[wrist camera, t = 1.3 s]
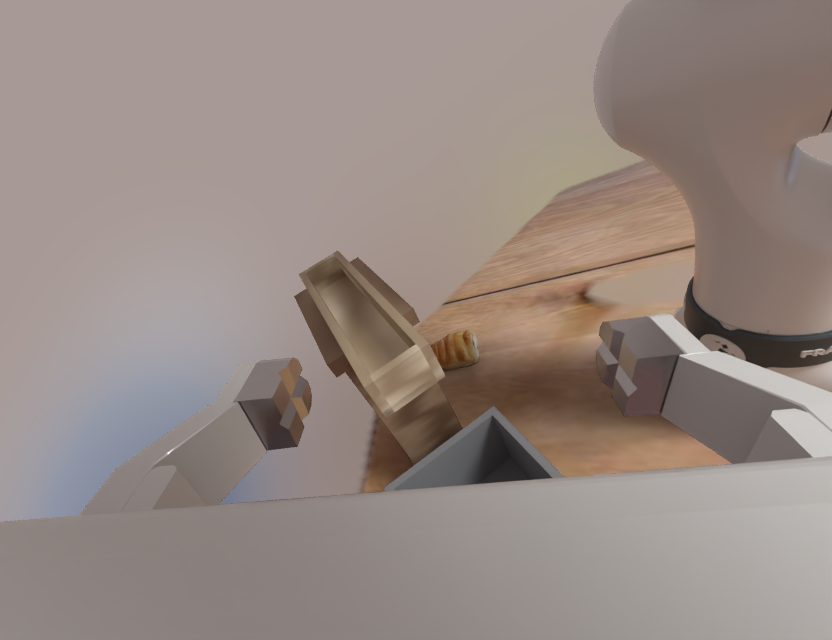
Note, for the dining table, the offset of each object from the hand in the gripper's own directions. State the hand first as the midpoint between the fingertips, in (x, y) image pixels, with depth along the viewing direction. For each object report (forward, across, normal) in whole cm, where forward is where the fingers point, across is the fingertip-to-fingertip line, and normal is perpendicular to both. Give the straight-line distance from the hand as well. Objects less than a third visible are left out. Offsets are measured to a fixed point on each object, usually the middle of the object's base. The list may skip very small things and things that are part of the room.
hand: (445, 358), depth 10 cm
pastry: (+40, -1, +33) cm, 51 cm away
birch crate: (+17, +7, +10) cm, 20 cm away
